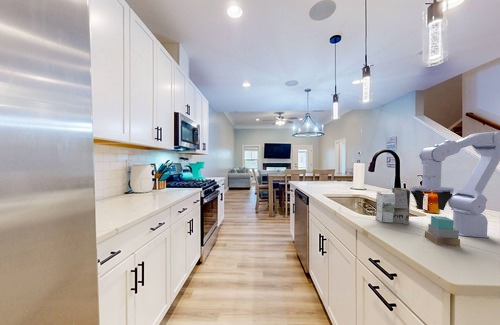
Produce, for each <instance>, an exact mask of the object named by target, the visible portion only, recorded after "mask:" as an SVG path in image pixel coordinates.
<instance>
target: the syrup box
mask: <svg viewBox="0 0 500 325" xmlns="http://www.w3.org/2000/svg"><path fill="white" fill-rule="evenodd" d="M375 202H376V203H375V204H376V205H375V206H376V207H375V220H376V221H379V222H380V223H386V224H387V223H388V224H390V223H391V224H395V222H394V208H395V194H394V193H392V191H376V201H375Z"/></svg>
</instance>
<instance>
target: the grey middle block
mask: <svg viewBox="0 0 500 325" xmlns="http://www.w3.org/2000/svg"><path fill="white" fill-rule="evenodd" d="M427 231H429V232H430V233H432V234H434V235H436V236H437V237H442V238H454V239H460V238H459V237H460V235H459V231H458V230H456V229H454V228H453V230H448V229H438V228H436V227H434V226H432V225H431V223H428V227H427Z"/></svg>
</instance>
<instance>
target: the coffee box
mask: <svg viewBox="0 0 500 325" xmlns="http://www.w3.org/2000/svg"><path fill="white" fill-rule="evenodd" d="M391 192H392V193H394V194H395V208H394V223H398V224H402V223H403V224H404V225H409V222H410V205H411V204H410V203H411V202H410V200H411V191H410V189H408V188H404V187H392V188H391Z"/></svg>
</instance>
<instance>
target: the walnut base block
mask: <svg viewBox="0 0 500 325" xmlns="http://www.w3.org/2000/svg"><path fill="white" fill-rule="evenodd" d="M424 238H426V240H428V241H430V242H431V243H433V244H435V245H438V246H446V247H448V246H449V247H457V246H458V247H460V246H461V239H460V238H458V239H454V238H442V237H437V236H436V235H434V234H432V233H430V232H429V231H428V230H424Z"/></svg>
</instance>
